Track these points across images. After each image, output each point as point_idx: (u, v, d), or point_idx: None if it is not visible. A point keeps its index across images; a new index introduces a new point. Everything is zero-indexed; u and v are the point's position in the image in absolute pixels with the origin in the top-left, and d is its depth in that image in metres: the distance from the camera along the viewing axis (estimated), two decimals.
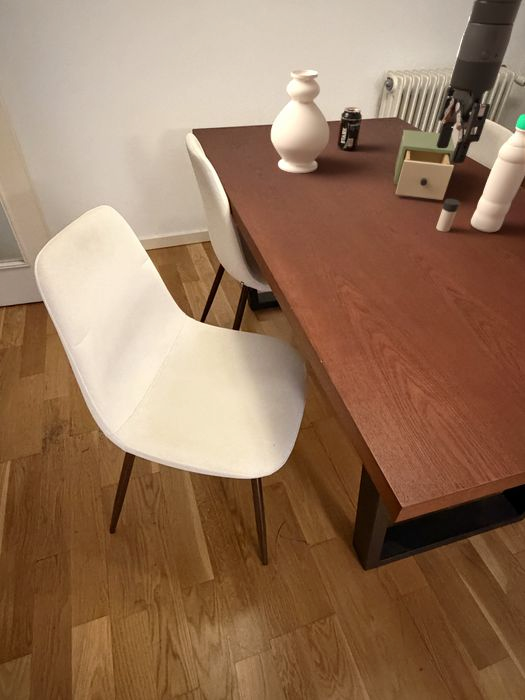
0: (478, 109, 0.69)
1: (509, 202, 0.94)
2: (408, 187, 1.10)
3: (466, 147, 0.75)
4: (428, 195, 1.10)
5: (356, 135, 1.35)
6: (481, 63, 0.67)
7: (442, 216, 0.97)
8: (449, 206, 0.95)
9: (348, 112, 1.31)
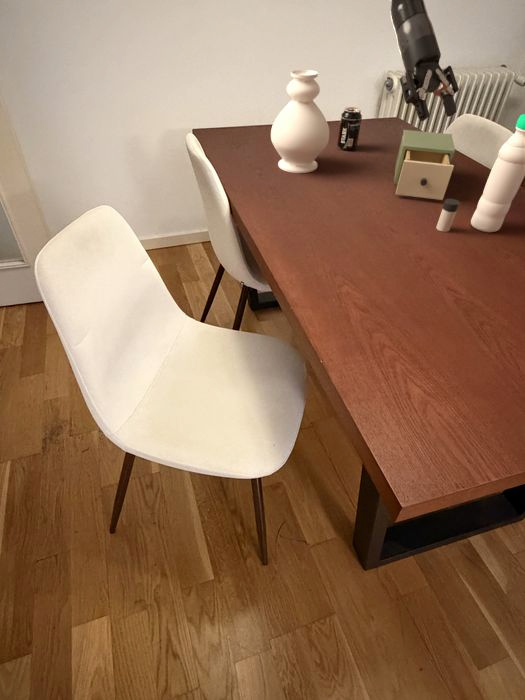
0: (401, 79, 0.89)
1: (509, 202, 0.94)
2: (408, 187, 1.10)
3: (419, 105, 0.89)
4: (428, 195, 1.10)
5: (356, 135, 1.35)
6: (403, 52, 0.90)
7: (442, 216, 0.97)
8: (449, 206, 0.95)
9: (348, 112, 1.31)
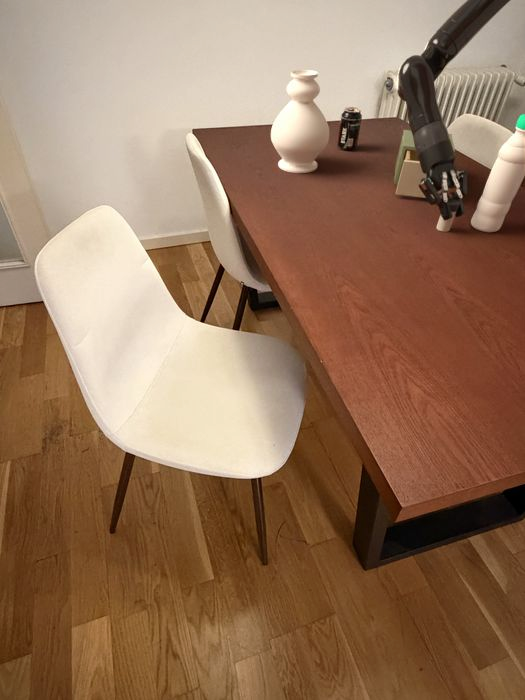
0: (420, 186, 0.94)
1: (509, 202, 0.94)
2: (408, 187, 1.10)
3: (442, 207, 0.95)
4: None
5: (356, 135, 1.35)
6: (419, 154, 0.95)
7: None
8: None
9: (348, 112, 1.31)
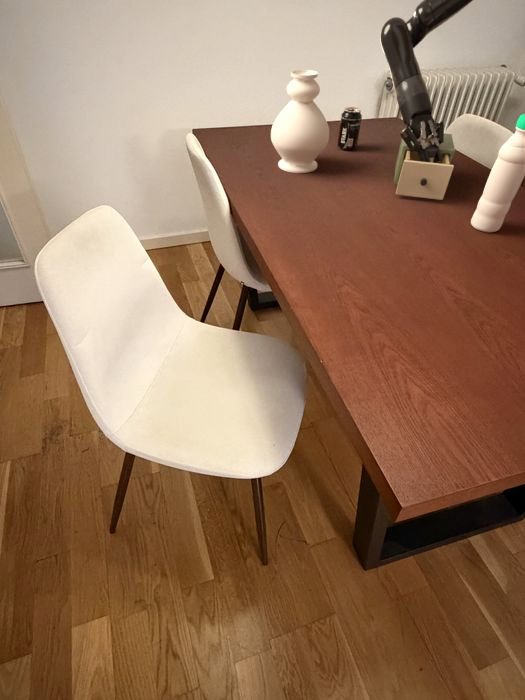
0: (402, 135, 1.06)
1: (509, 202, 0.94)
2: (408, 187, 1.10)
3: (421, 153, 1.06)
4: (428, 195, 1.10)
5: (356, 135, 1.35)
6: (401, 106, 1.07)
7: None
8: None
9: (348, 112, 1.31)
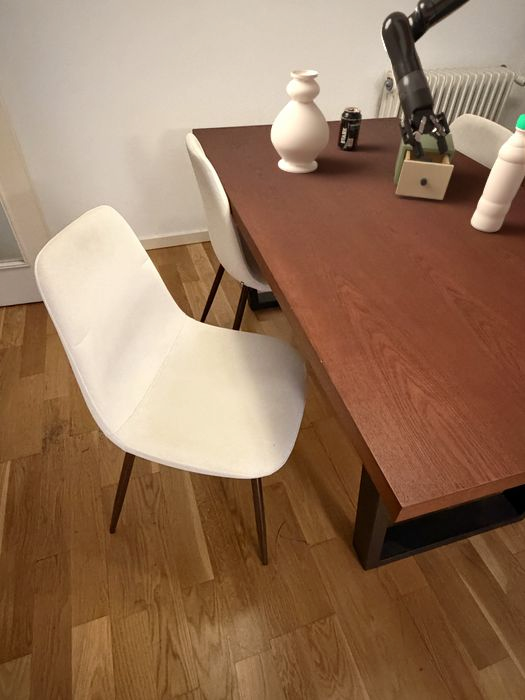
0: (400, 124, 1.05)
1: (509, 202, 0.94)
2: (408, 187, 1.10)
3: (415, 146, 1.05)
4: (428, 195, 1.10)
5: (356, 135, 1.35)
6: (402, 101, 1.06)
7: None
8: None
9: (348, 112, 1.31)
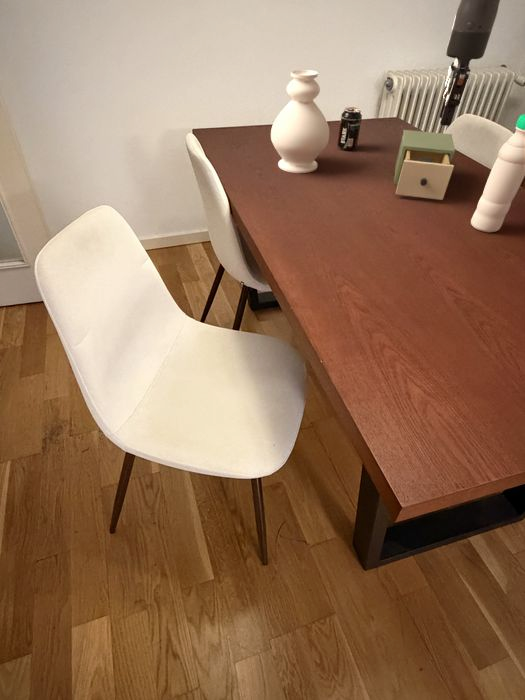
0: (457, 79, 0.81)
1: (509, 202, 0.94)
2: (408, 187, 1.10)
3: (451, 111, 0.88)
4: (428, 195, 1.10)
5: (356, 135, 1.35)
6: (466, 33, 0.79)
7: None
8: None
9: (348, 112, 1.31)
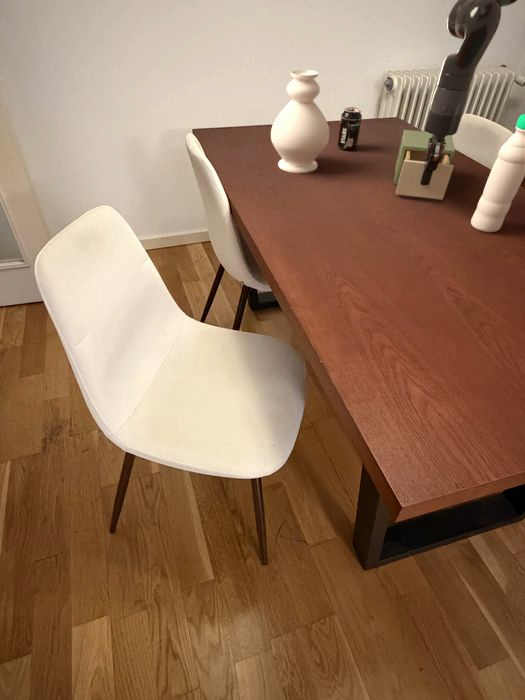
0: (432, 158, 0.96)
1: (509, 202, 0.94)
2: (408, 187, 1.10)
3: (429, 174, 1.03)
4: (428, 195, 1.10)
5: (356, 135, 1.35)
6: (441, 115, 0.92)
7: None
8: None
9: (348, 112, 1.31)
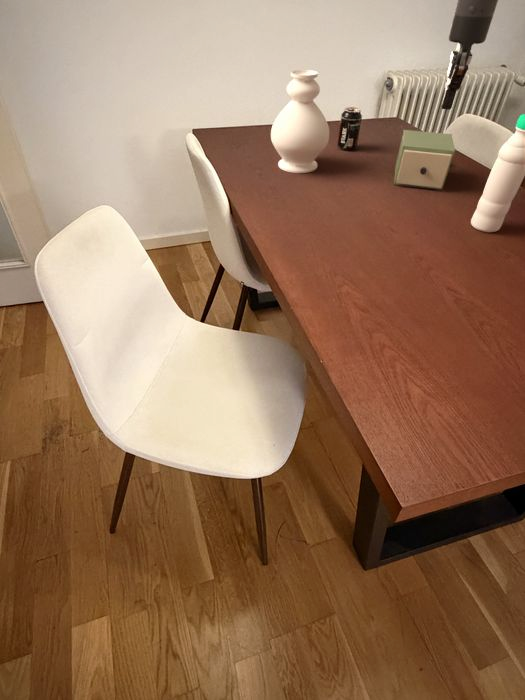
0: (457, 71, 0.84)
1: (509, 202, 0.94)
2: (409, 176, 1.15)
3: (452, 95, 0.91)
4: (427, 184, 1.15)
5: (356, 135, 1.35)
6: (469, 17, 0.80)
7: None
8: None
9: (348, 112, 1.31)
